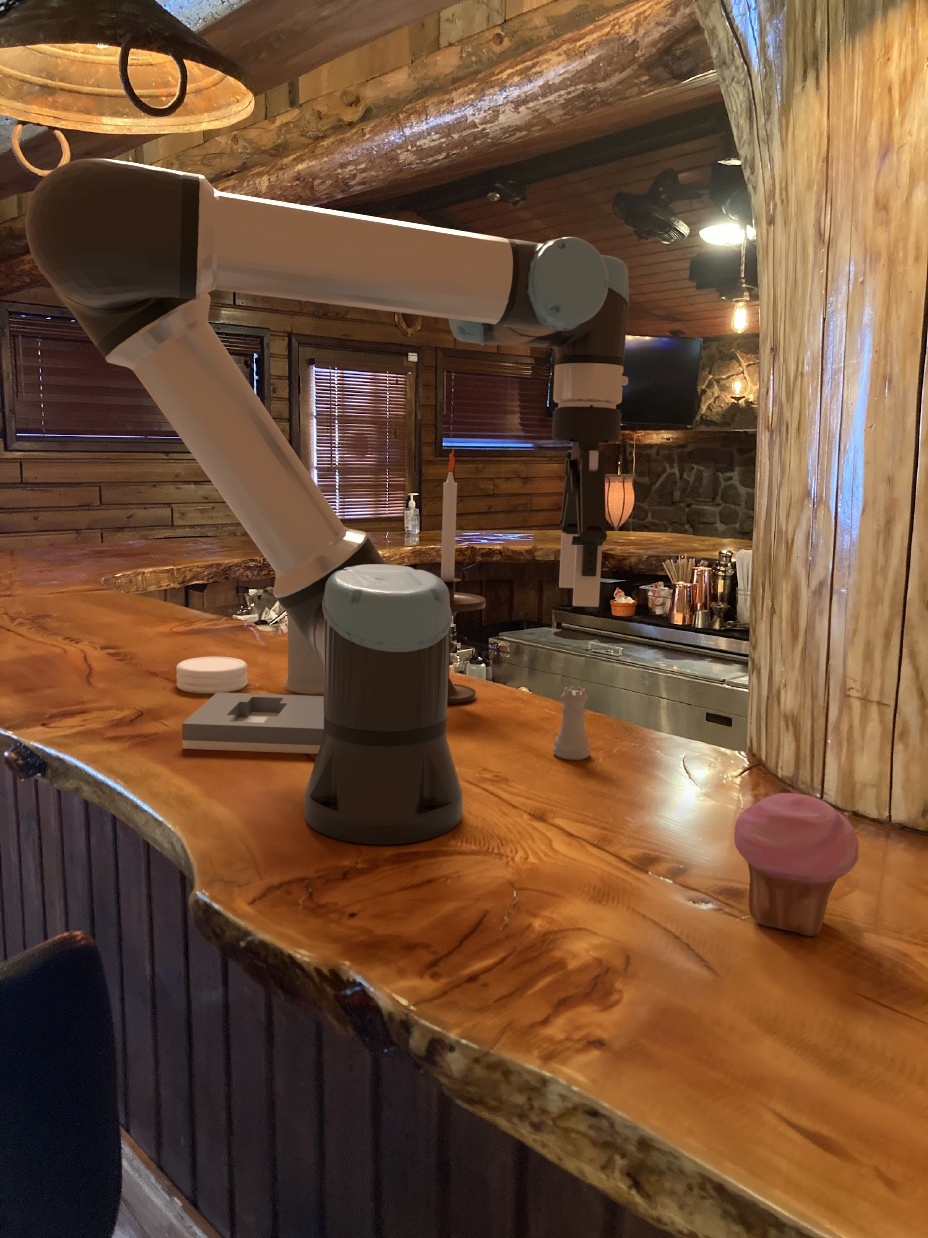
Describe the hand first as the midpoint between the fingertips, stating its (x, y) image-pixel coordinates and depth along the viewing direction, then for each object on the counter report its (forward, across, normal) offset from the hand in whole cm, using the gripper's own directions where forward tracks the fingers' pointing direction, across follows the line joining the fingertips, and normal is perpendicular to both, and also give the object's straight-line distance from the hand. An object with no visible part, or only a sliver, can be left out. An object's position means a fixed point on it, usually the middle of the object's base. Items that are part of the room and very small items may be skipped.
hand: (577, 596), depth 106 cm
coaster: (+19, +27, +49) cm, 59 cm away
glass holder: (+19, +30, +33) cm, 49 cm away
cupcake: (+19, -39, -12) cm, 45 cm away
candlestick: (+19, +24, +15) cm, 34 cm away
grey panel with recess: (+19, +4, +32) cm, 37 cm away
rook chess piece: (+19, -1, 0) cm, 19 cm away
